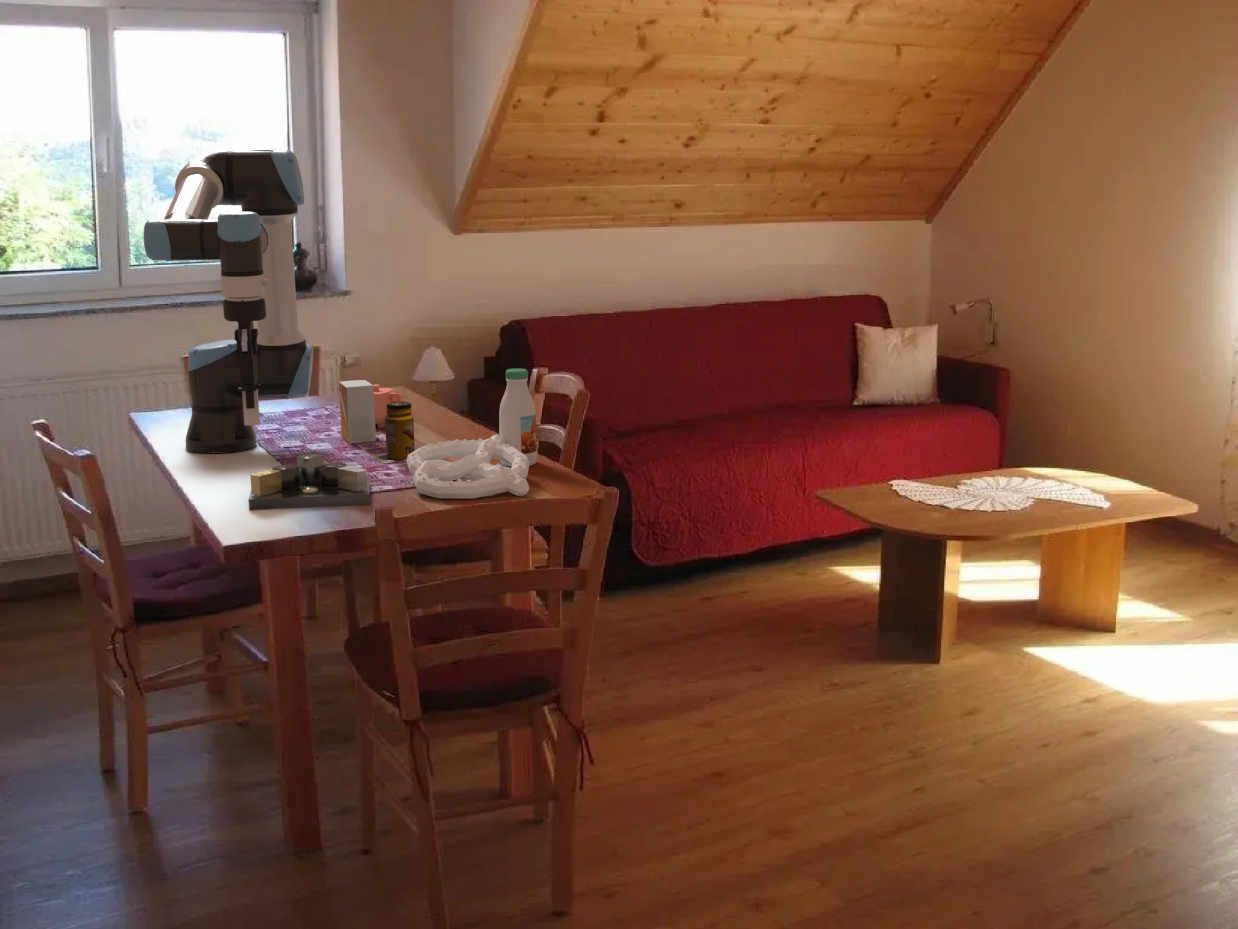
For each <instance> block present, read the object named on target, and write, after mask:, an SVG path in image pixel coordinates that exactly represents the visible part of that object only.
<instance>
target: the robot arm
mask: <svg viewBox="0 0 1238 929" xmlns="http://www.w3.org/2000/svg"><path fill="white" fill-rule="evenodd" d="M303 184H304V183H303V179H302V172H301V169H300V164H299V162H298V159H297V157H296V155H295V153H294V152H293V151H291V150H289V149H283V148H273V147H272V148H242V149H241V148H240V149H238V148H236V149H235V148H233V149H230V148H221V149H216V150H212V151H208V152H205V153H203V154H201V155H199V156H197V157H195V158H194V159H192V160H191V161H189V162H188V163H187V164H185V166H184V167H183V168H181V170H180V171H179V173H178V175H177V176H176V179H175V184H174V190H175V194H174V196H173V198H172V200H171V203H170V205H169V207H168V210H167V212H166V214H165V216H164V219H161V218H159V219H153V220H151V219H150V220H147V221H146V222H145V223H144V226H143V245H144V251H145V255H146V257H147V258H148V259H149V260H151V261H162V262H163V261H165V262H167V263H168V262H182V261H183V262H184V261H186V262H187V261H220V262H219V263H220V282H221V283H220V285H221V295H222V297H224V298H225V299H224V300H223V301H222V309H223V318H224V320H226V321H228V322H232V323H233V322H236V323H237V328H235V330H234V339H226V340H224V339H223V340H217V341H213V342H208V343H202V344H200V345H197V346H194V347H192V348H191V349H190V350H189V351H188V356H187V357H188V359H187V362H188V364H187V366H188V368H187V371H188V376H189V389H190V390H189V392H190V404H191V405H190V406H191V415H190V420H189V424H188V428H187V432H186V435H185V449H186V450H187V451H189V452H193V453H199V454H226V453H227V454H228V453H234V452H235V453H236V452H241V451H246V450H250V449H251V448H254V447H256V445H257V434H256V431H255V429H254V427H253V426H260V424H261V419H260V404H259V403H260V402H259V400H266V399H267V400H271V399H274V400H275V399H276V400H277V399H280V400H281V399H286V400H289V399H296V398H305V397H306V396H308V394H309V392H310V389H311V383H312V381H311V380H312V372H313V362H314V347H313V345H311V344H307V341H306V340H307V339H306V336H305V335H304V334H303V333H302V332H301V331H300V330H299V323H298V322H299V321H298V311H297V309H298V308H297V295H296V294H297V292H296V278H295V263H294V262H295V261H294V247H293V246H294V245H293V244H294V243H293V230H292V221H293V219H294V218H295V217H296V216H297V215H298V214H299V210H298V209H299V208H298V206H303V205H304V204H305V194H304V185H303ZM217 206H241V211H226V212H222V213H219V215H218V217H217V219H209V218H210V214H211V213H212V210H213V209H214V208H216V207H217ZM254 322H256V327H257V328H255V327H254Z"/></svg>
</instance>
